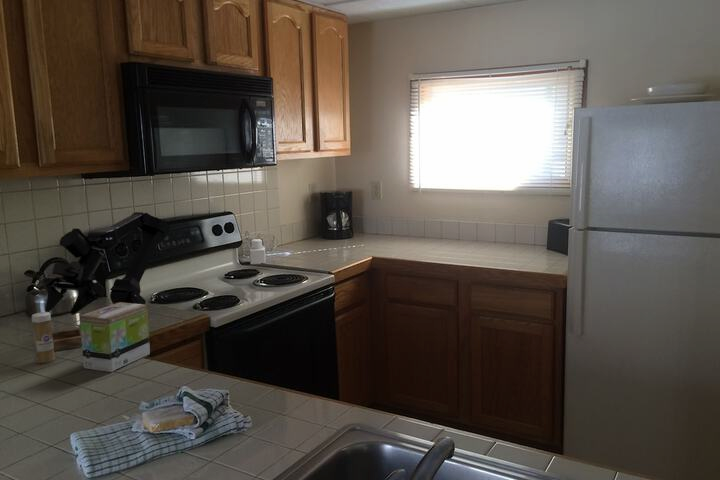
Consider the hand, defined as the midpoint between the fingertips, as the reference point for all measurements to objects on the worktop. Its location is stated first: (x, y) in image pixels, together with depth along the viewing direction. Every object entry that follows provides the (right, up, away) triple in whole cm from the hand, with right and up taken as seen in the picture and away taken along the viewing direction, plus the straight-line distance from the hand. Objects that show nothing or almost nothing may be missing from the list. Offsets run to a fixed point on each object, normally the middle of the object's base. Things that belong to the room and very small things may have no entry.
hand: (59, 312), depth 172 cm
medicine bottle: (+34, +9, +130) cm, 135 cm away
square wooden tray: (-3, -11, +10) cm, 15 cm away
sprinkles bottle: (-2, -13, -4) cm, 14 cm away
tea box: (+19, -13, -5) cm, 23 cm away
